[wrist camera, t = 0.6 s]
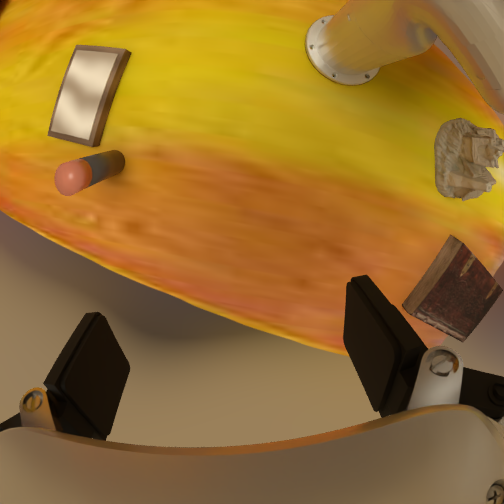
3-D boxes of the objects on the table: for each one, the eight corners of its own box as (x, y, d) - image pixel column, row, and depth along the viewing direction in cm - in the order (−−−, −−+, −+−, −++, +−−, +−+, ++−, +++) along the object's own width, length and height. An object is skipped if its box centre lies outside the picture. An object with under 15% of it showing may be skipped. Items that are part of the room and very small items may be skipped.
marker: (106, 147, 37) (57, 159, 25) (127, 153, 38) (83, 166, 25) (101, 171, 39) (52, 191, 26) (121, 177, 40) (77, 199, 27)
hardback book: (400, 303, 54) (410, 317, 49) (449, 233, 47) (463, 243, 42) (454, 333, 60) (462, 344, 56) (492, 281, 54) (502, 290, 49)
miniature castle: (430, 196, 43) (487, 219, 29) (433, 110, 37) (494, 111, 23) (475, 199, 44) (525, 220, 30) (479, 126, 38) (532, 133, 24)
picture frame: (83, 47, 29) (75, 44, 26) (131, 52, 31) (124, 48, 28) (55, 134, 35) (46, 135, 32) (99, 145, 37) (91, 147, 34)
